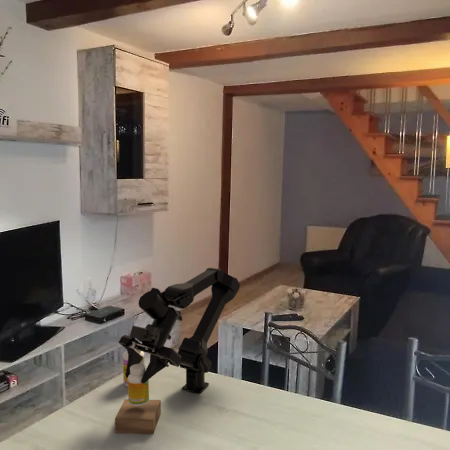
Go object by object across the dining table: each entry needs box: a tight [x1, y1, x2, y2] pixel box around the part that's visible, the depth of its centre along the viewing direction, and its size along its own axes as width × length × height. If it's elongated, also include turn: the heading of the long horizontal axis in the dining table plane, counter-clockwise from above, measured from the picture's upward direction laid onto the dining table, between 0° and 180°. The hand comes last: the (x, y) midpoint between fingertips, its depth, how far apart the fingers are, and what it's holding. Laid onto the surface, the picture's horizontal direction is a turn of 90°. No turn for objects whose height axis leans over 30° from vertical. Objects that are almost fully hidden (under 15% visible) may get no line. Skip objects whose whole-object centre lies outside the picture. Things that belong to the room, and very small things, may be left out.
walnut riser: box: [114, 399, 162, 435], centre depth 128 cm, size 10×10×4 cm
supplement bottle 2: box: [127, 364, 150, 406], centre depth 126 cm, size 5×5×10 cm
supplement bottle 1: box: [122, 350, 146, 388], centre depth 150 cm, size 7×7×13 cm
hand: (134, 380), depth 125 cm, fingers closed on supplement bottle 2, 5 cm apart
